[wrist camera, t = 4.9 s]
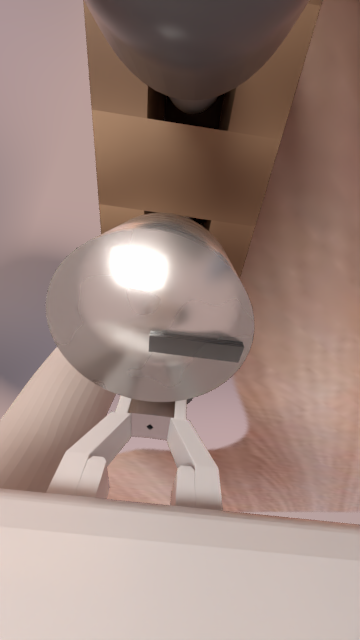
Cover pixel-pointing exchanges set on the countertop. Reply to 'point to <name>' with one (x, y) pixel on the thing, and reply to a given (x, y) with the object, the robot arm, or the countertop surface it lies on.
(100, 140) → the mount
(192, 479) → the robot arm
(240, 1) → the knob
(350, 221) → the countertop surface
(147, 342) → the knob mid
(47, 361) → the boot
